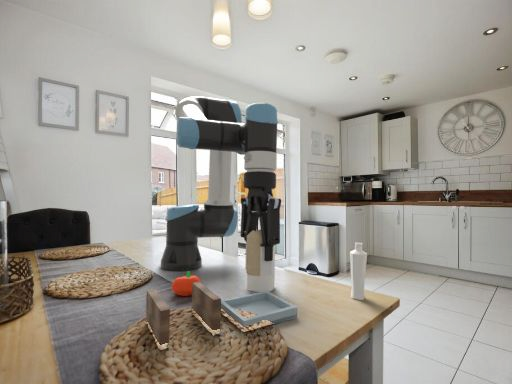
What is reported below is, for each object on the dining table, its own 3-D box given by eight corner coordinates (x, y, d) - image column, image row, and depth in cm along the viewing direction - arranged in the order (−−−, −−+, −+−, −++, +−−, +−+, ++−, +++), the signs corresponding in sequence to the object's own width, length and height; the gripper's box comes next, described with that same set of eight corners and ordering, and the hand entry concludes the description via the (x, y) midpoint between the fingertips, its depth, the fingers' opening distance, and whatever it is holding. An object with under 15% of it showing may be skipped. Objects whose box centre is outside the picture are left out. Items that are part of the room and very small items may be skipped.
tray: (218, 311, 64) (218, 300, 64) (266, 299, 72) (267, 290, 72) (243, 333, 54) (244, 321, 54) (297, 317, 62) (297, 306, 62)
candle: (256, 268, 67) (257, 227, 67) (274, 272, 64) (275, 229, 64) (241, 273, 63) (242, 229, 63) (259, 278, 59) (260, 231, 59)
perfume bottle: (355, 301, 72) (356, 244, 73) (346, 295, 77) (347, 241, 77) (370, 299, 74) (371, 244, 74) (360, 294, 78) (361, 241, 78)
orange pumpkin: (169, 295, 76) (169, 271, 76) (197, 290, 79) (197, 268, 80) (174, 300, 69) (174, 274, 70) (205, 295, 73) (204, 271, 74)
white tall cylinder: (272, 293, 77) (273, 236, 77) (243, 290, 79) (245, 235, 79) (275, 284, 85) (277, 232, 85) (250, 282, 87) (251, 231, 87)
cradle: (145, 323, 58) (146, 290, 58) (198, 311, 64) (199, 281, 64) (159, 351, 48) (160, 310, 48) (220, 334, 54) (221, 298, 54)
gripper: (227, 173, 69) (225, 264, 69) (270, 167, 54) (267, 285, 53) (252, 175, 73) (250, 261, 73) (299, 170, 58) (297, 280, 57)
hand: (258, 271), depth 63 cm, fingers closed on candle, 5 cm apart
